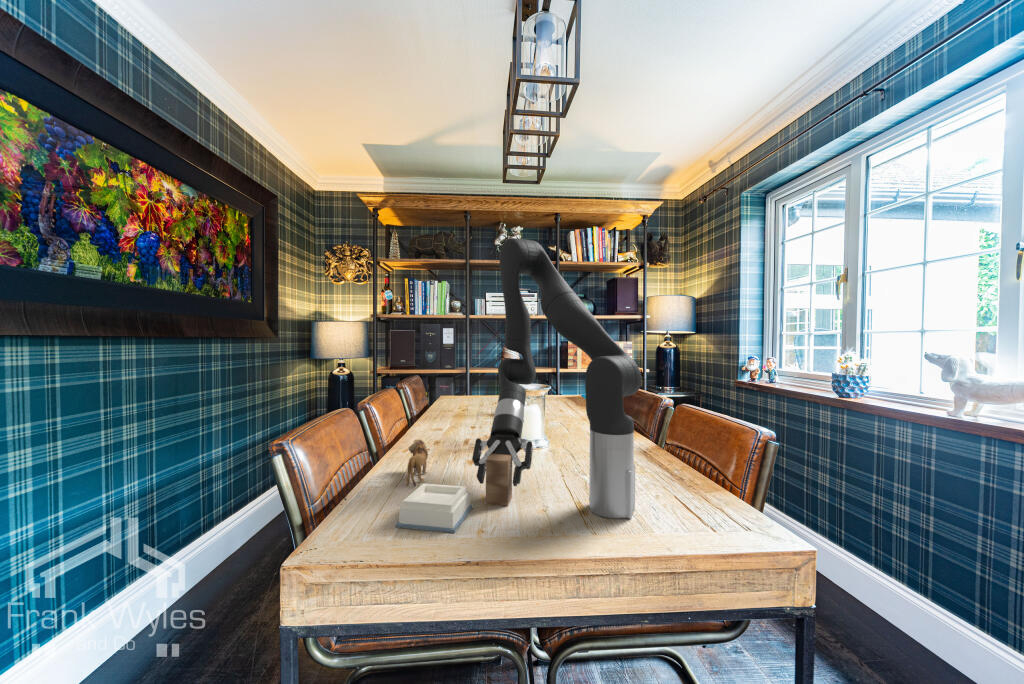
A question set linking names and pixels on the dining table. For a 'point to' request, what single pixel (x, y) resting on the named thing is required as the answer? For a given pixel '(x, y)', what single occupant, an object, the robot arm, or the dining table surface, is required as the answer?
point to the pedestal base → (435, 508)
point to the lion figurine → (417, 461)
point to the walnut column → (499, 479)
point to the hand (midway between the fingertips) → (497, 483)
